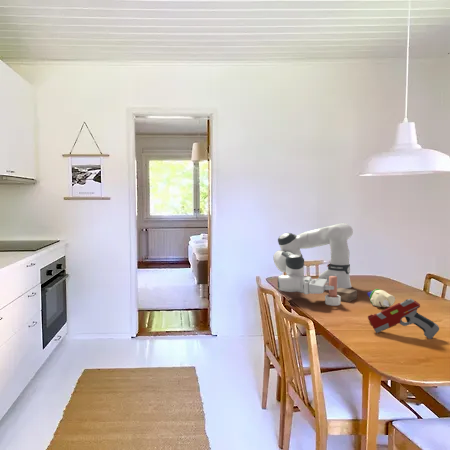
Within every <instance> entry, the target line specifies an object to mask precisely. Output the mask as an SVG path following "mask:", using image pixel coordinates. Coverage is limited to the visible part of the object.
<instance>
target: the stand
mask: <svg viewBox="0 0 450 450" xmlns="http://www.w3.org/2000/svg"><path fill="white" fill-rule="evenodd" d="M337 295H339V296H341V302H346V303H347V302H348V303H350V302H352V301H354V300H356V299H357V298H358V290H357V289H353V288H352V289H351V288H337Z"/></svg>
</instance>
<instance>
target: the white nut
mask: <svg viewBox="0 0 450 450" xmlns="http://www.w3.org/2000/svg"><path fill="white" fill-rule="evenodd" d="M341 302H342V301H341V296H339V295H337V297H329V293H328V294H326V295H324V304H325V305H327V306H334V307H335V306H340V305H341Z"/></svg>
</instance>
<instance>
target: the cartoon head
mask: <svg viewBox="0 0 450 450" xmlns="http://www.w3.org/2000/svg"><path fill="white" fill-rule="evenodd" d="M366 294H367V297H368V298H369V301H370V303H371V305H372V306H374V307H375V306H376V307H379V308H386V307H387V308H389V307H391V306H394V305H395V302H396V298H395V296H394V295H393V294H390V293H388V292H387V291H386V290H383V289H379V288H374V289H373V290H371V291H368V292H366Z"/></svg>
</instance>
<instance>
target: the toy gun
mask: <svg viewBox="0 0 450 450" xmlns="http://www.w3.org/2000/svg"><path fill="white" fill-rule="evenodd" d="M419 308H421V304H420V303H419V302H418V301H416V300H414V299H412V298H408V299H405V300H404V301H402V302H398V303H396V304H393V305H392V306H389V307H387V308H385V309H383V310H381V311H380V312H377V313H374V314H372V313H371V314H370V315H368V316H367V319H368V323H369V325H370V326H371V327H372V328H373V330H374V332H375V333H376V334H378V333H380V332H383V331H385V330H388V329H390V328H393V327H395V326H397V325H401V326H403V327H407V326H409V325H415V326H416V327H418V328H419V329H420V330H422V332H423V335H424V337H426V338H427V339H429V340H432V339H433V337H434V336H435V335H436V334H437V333H438V332H439V330H440V326H439V325H438V324H437V323H435V322H434V321H432V320H431V319H429V318H427V317H426V316H424V315H422V314H420V313H418V309H419ZM403 318H405V320H406V321H403Z"/></svg>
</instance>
